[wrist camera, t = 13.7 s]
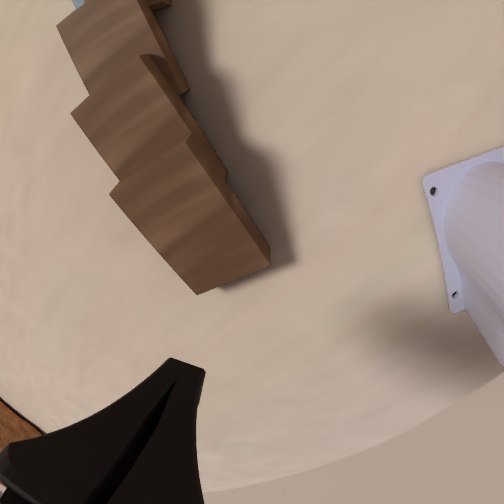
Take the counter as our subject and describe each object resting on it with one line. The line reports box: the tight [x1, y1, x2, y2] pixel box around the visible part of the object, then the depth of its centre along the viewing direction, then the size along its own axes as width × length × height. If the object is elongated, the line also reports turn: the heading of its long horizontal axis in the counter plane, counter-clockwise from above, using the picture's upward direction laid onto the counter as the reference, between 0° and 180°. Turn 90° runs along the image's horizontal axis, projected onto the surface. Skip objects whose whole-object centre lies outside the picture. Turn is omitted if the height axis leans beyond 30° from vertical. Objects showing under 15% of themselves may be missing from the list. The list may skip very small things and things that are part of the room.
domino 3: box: [109, 133, 270, 295], centre depth 17 cm, size 2×5×8 cm
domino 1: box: [56, 0, 190, 95], centre depth 14 cm, size 2×5×8 cm
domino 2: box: [70, 54, 227, 180], centre depth 16 cm, size 2×5×8 cm
